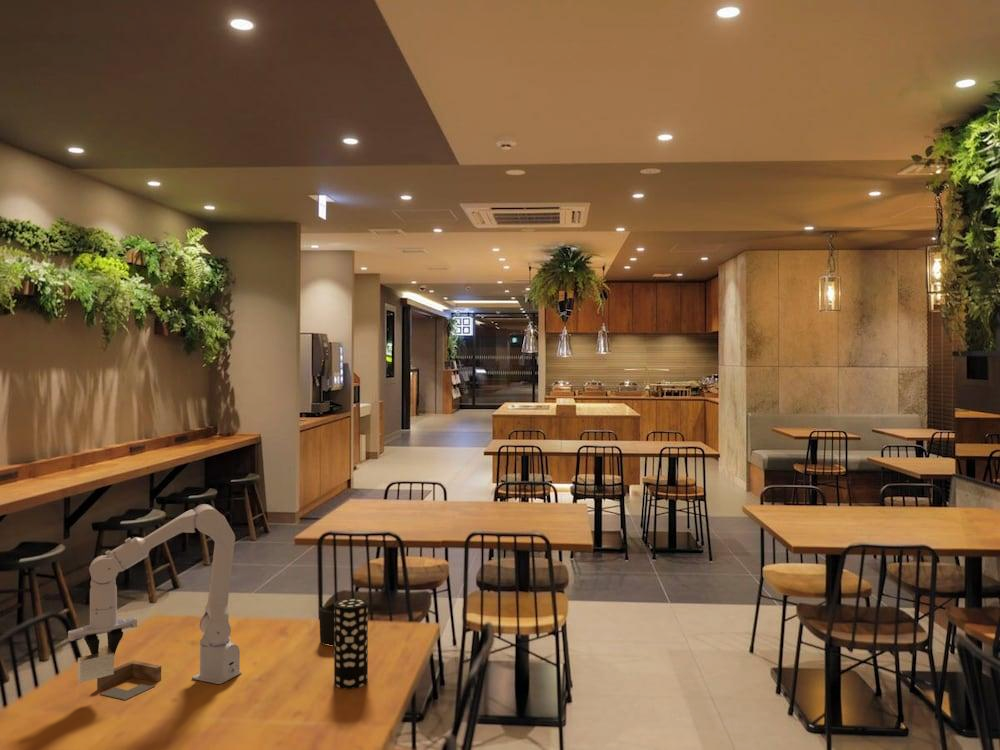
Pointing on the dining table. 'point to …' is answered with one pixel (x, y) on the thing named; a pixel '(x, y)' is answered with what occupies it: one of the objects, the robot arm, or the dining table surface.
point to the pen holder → (327, 624)
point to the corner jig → (130, 674)
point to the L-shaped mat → (127, 692)
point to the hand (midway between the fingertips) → (103, 663)
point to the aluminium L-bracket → (96, 665)
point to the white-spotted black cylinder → (350, 643)
